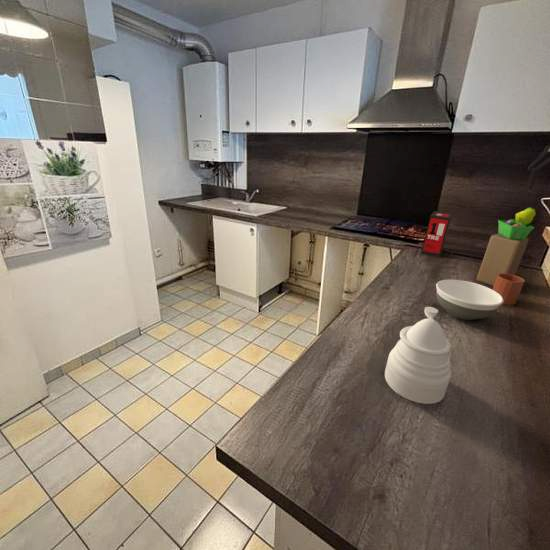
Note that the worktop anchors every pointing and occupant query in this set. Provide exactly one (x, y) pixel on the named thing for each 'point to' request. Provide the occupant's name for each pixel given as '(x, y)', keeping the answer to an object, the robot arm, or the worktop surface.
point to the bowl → (467, 299)
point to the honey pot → (420, 362)
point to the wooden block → (501, 257)
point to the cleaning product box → (436, 233)
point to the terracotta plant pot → (508, 287)
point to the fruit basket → (517, 225)
